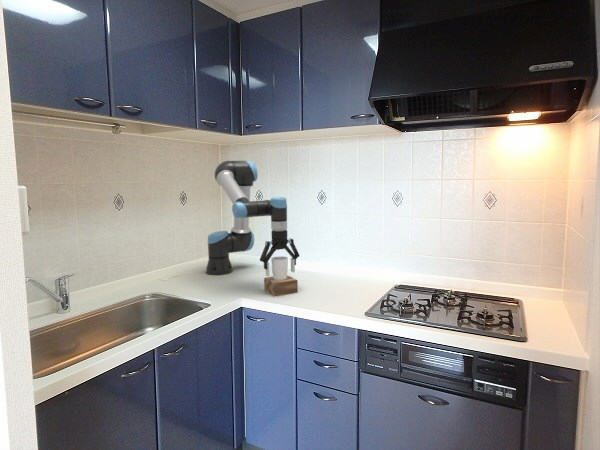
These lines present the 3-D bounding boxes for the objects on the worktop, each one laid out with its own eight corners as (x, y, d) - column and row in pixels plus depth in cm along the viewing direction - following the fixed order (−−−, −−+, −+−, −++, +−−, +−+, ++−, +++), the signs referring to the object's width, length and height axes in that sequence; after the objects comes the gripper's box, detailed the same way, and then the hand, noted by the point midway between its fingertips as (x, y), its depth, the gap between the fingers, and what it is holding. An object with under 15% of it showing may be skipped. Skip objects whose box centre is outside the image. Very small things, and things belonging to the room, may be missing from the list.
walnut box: (264, 290, 189) (264, 277, 188) (286, 286, 195) (286, 274, 194) (274, 296, 179) (274, 283, 178) (297, 292, 184) (297, 279, 184)
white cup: (279, 275, 192) (279, 255, 190) (291, 278, 187) (291, 257, 185) (268, 278, 186) (267, 258, 184) (280, 281, 181) (279, 260, 179)
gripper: (258, 233, 174) (259, 279, 176) (306, 228, 185) (306, 271, 188) (251, 231, 180) (253, 275, 183) (298, 226, 192) (299, 268, 195)
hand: (280, 273), depth 186 cm, fingers open, 13 cm apart
